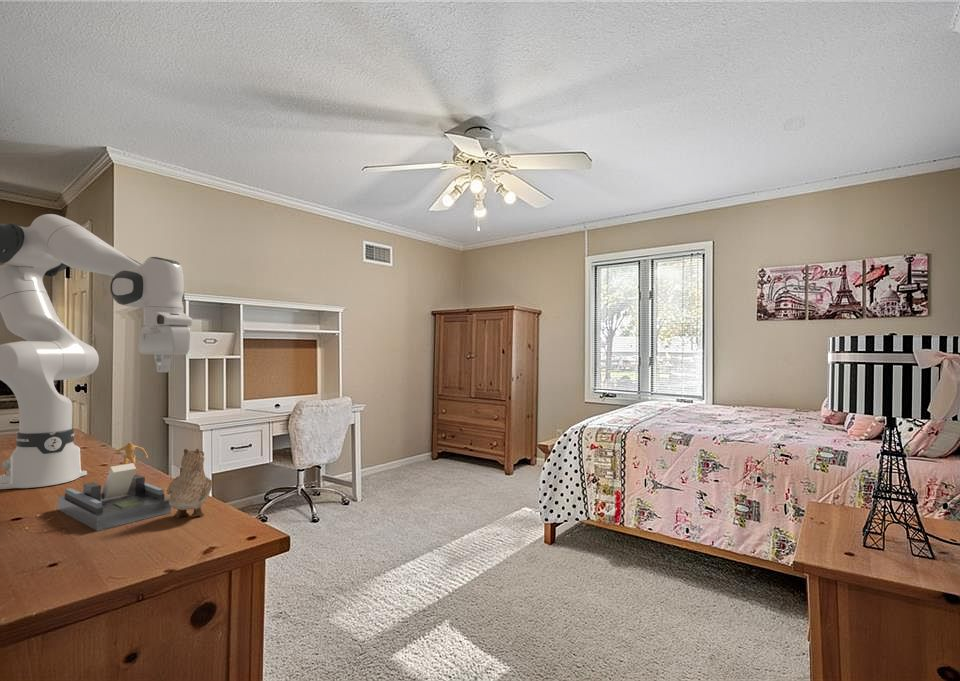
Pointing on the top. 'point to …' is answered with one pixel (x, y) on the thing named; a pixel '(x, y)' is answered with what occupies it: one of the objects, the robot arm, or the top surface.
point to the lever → (118, 480)
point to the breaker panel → (116, 506)
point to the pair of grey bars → (97, 505)
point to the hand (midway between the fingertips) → (162, 372)
